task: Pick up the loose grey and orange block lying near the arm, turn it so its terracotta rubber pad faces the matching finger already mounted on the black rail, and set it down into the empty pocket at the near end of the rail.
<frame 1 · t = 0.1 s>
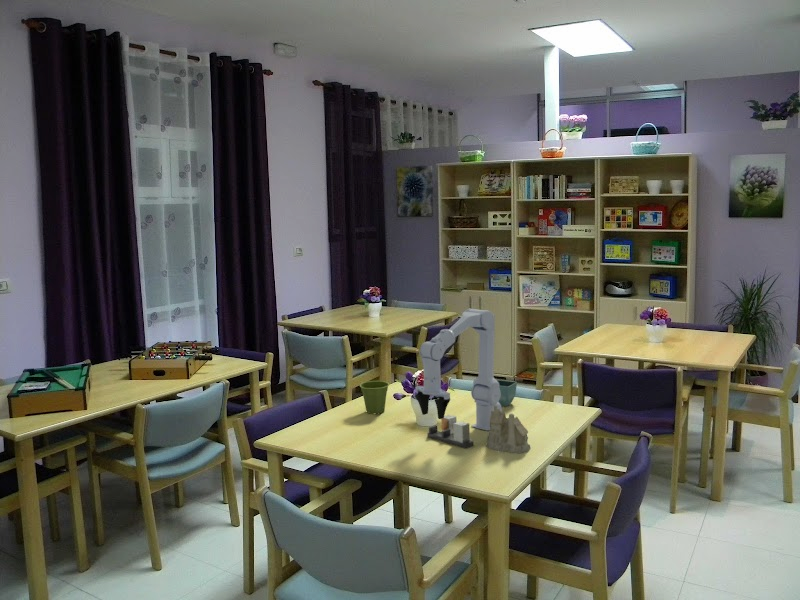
hand: (432, 416, 243), 10 cm above the table, fingers open, 7 cm apart
flower pot: (503, 405, 291), on the table
plant pot: (375, 412, 286), on the table
grey and orange block: (449, 433, 257), on the table
rail: (450, 441, 248), on the table
ceramic cottage: (510, 445, 242), on the table
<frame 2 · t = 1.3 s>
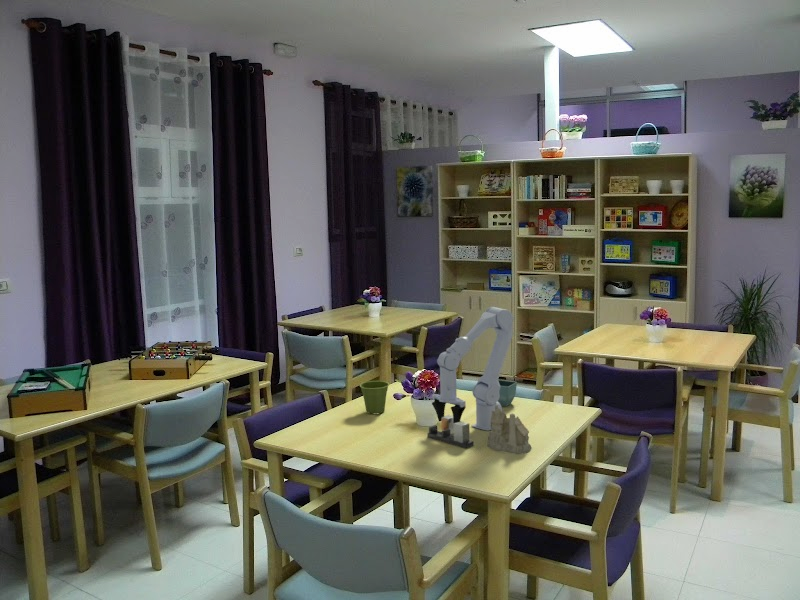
hand: (448, 422, 256), 4 cm above the table, fingers open, 7 cm apart
nothing on the table moved.
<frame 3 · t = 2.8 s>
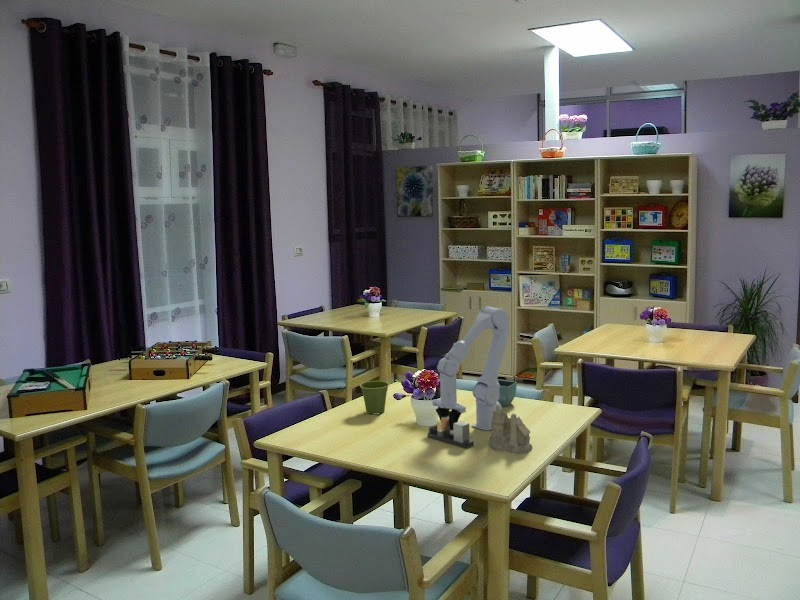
hand: (449, 428, 257), 2 cm above the table, fingers closed on grey and orange block, 3 cm apart
grey and orange block: (449, 432, 257), on the table, touching gripper
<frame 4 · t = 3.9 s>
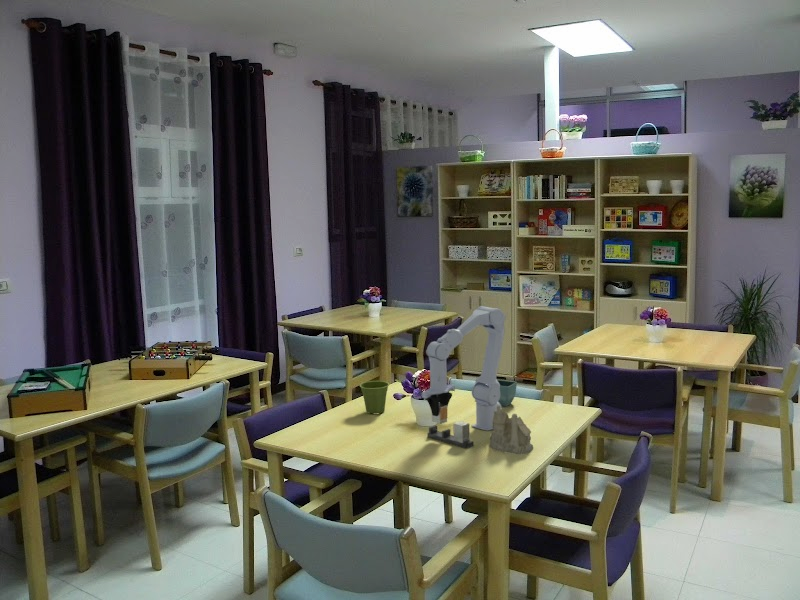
hand: (439, 414, 250), 9 cm above the table, fingers closed on grey and orange block, 3 cm apart
grey and orange block: (439, 421, 250), point 6 cm above the table, touching gripper
everything else where it was.
when the fingers open (4 cm above the table, at t = 5.4 s): grey and orange block stays where it is, resting on rail.
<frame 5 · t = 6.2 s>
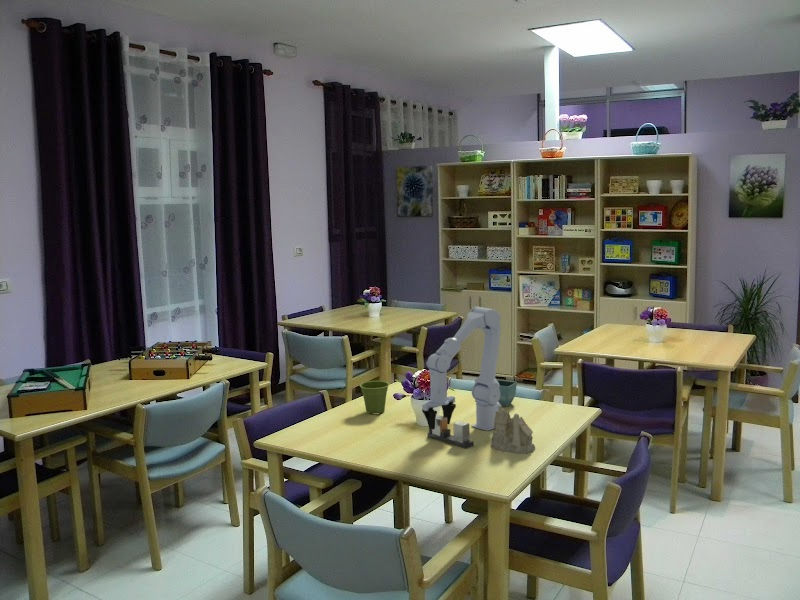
hand: (439, 426, 251), 4 cm above the table, fingers open, 7 cm apart
grey and orange block: (439, 433, 251), point 1 cm above the table, touching rail
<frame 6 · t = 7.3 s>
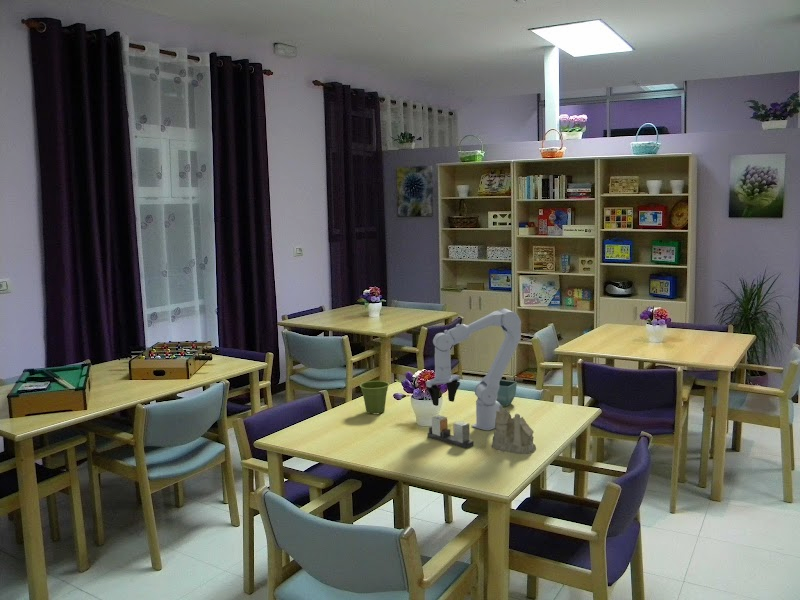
hand: (443, 403, 259), 10 cm above the table, fingers open, 7 cm apart
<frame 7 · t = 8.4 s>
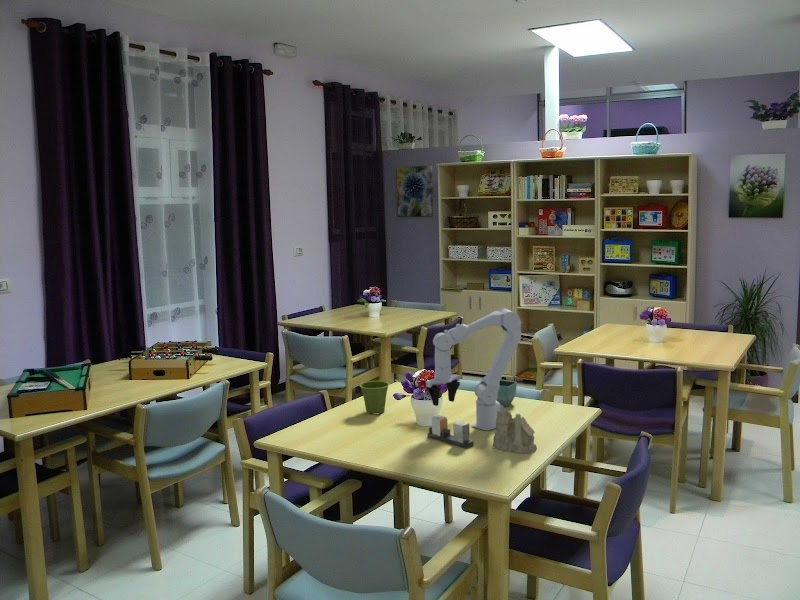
hand: (443, 403, 259), 10 cm above the table, fingers open, 7 cm apart
at the end: grey and orange block 0.0 cm from the target spot on the rail, point 1.5 cm above the rail's base; grey and orange block tilted 0°; the gripper is holding nothing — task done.
